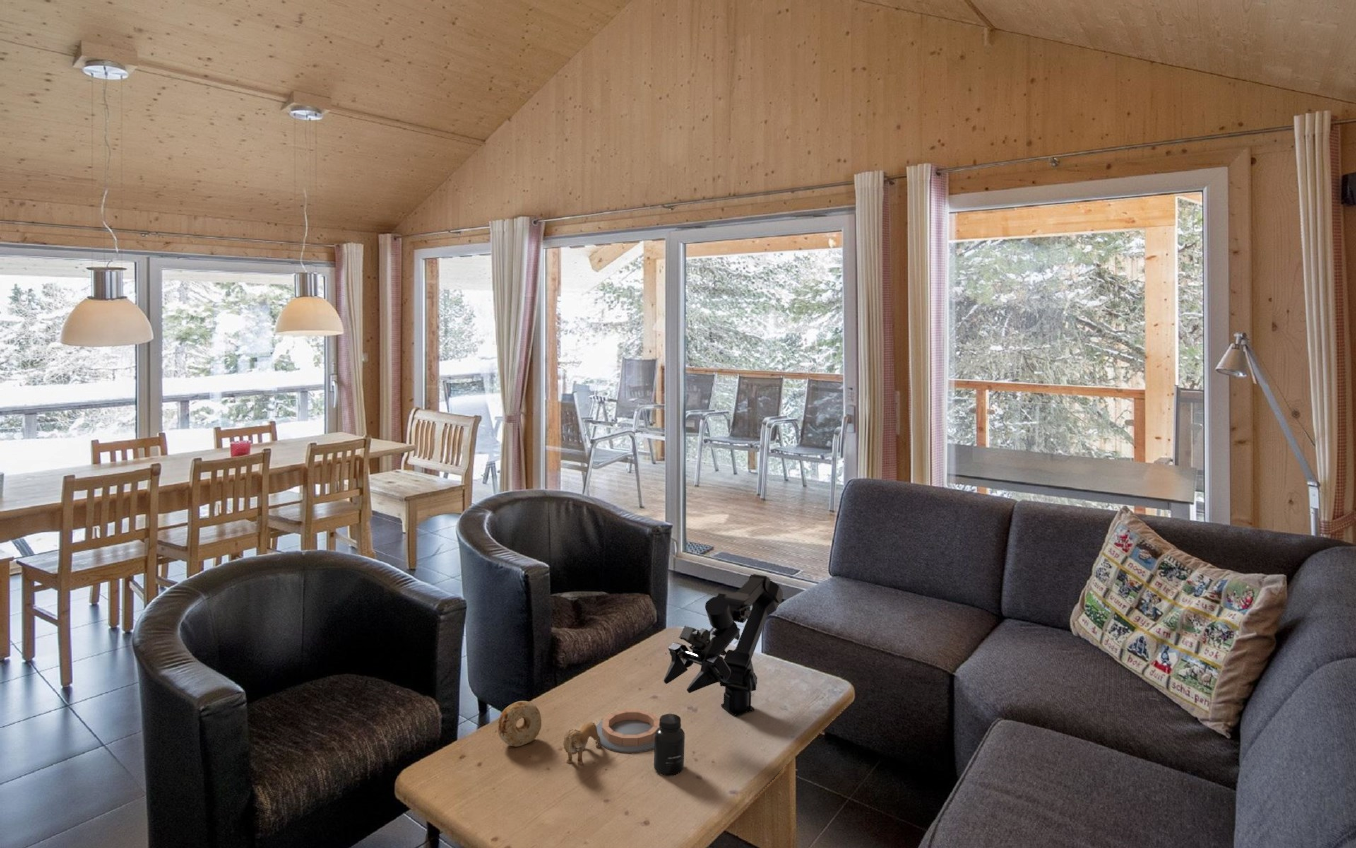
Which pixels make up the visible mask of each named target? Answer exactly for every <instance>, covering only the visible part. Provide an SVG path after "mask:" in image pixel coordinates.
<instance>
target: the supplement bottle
mask: <svg viewBox="0 0 1356 848" xmlns="http://www.w3.org/2000/svg"><path fill="white" fill-rule="evenodd" d="M659 719H660V723H659V728H657V730H656V731H655V742H654V749H653V768H654V770H655V771H656V773H658V774H659V775H661V776H666V777H673V776H676V775H679V774H682V773H681V772H683V771H684V768H685V767H684V766H685V739H686V737H685V736H686V734H685V731H684V729H683V728H682V723H681V722H682V719H681V717H680V716H679V715H677V714H674V713H665V714H662V715H660V717H659Z"/></svg>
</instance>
